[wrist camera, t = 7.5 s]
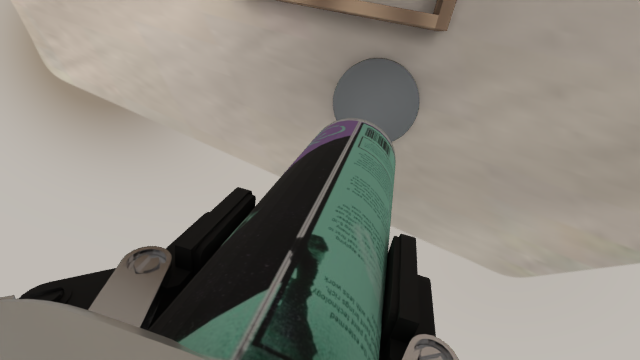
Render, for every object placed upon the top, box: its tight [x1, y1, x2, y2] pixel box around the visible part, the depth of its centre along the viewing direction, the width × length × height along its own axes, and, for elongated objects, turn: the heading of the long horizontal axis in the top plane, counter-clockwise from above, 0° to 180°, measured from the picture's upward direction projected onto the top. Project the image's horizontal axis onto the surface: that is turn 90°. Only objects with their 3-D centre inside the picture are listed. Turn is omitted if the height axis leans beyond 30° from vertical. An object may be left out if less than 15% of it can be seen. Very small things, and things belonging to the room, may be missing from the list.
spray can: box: [147, 118, 396, 360], centre depth 12 cm, size 6×6×20 cm
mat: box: [333, 58, 419, 142], centre depth 38 cm, size 10×10×1 cm
